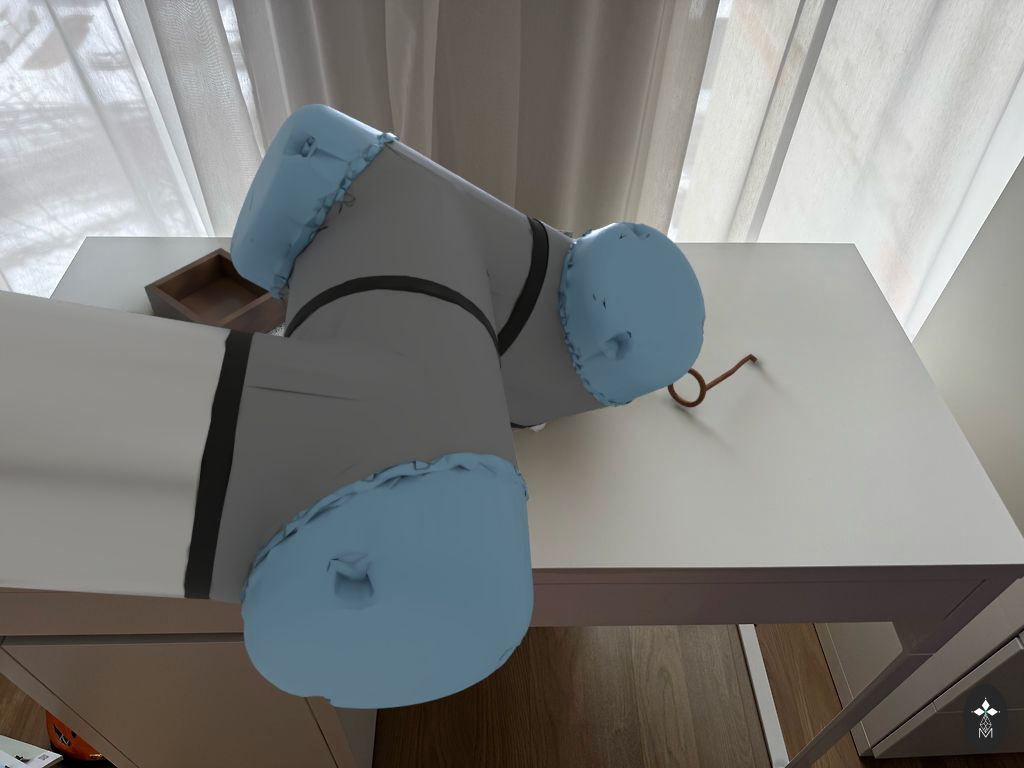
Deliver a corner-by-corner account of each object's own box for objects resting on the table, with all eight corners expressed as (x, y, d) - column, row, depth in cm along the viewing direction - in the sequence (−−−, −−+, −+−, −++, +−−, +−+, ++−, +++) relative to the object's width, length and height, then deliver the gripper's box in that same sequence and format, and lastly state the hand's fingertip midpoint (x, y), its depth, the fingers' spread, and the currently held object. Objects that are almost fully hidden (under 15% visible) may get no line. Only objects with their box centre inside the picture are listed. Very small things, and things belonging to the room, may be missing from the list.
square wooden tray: (219, 362, 90) (210, 332, 87) (154, 316, 96) (143, 286, 93) (293, 316, 96) (287, 287, 93) (228, 275, 102) (220, 247, 99)
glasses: (605, 359, 92) (610, 327, 89) (670, 312, 99) (677, 280, 96) (695, 417, 86) (705, 385, 83) (759, 362, 93) (770, 330, 89)
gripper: (350, 575, 38) (232, 579, 55) (619, 323, 52) (460, 387, 69) (257, 454, 37) (165, 496, 54) (559, 229, 51) (411, 318, 68)
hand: (331, 435), depth 62 cm, fingers open, 13 cm apart
